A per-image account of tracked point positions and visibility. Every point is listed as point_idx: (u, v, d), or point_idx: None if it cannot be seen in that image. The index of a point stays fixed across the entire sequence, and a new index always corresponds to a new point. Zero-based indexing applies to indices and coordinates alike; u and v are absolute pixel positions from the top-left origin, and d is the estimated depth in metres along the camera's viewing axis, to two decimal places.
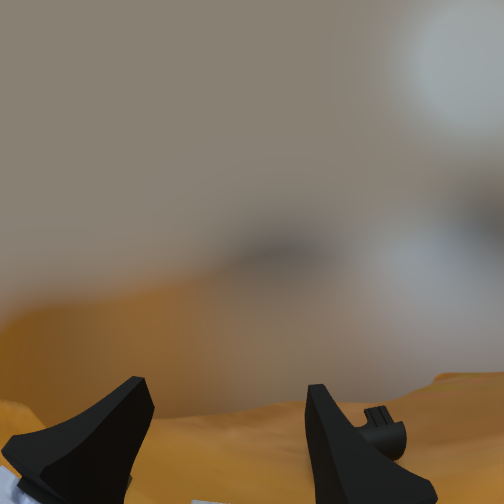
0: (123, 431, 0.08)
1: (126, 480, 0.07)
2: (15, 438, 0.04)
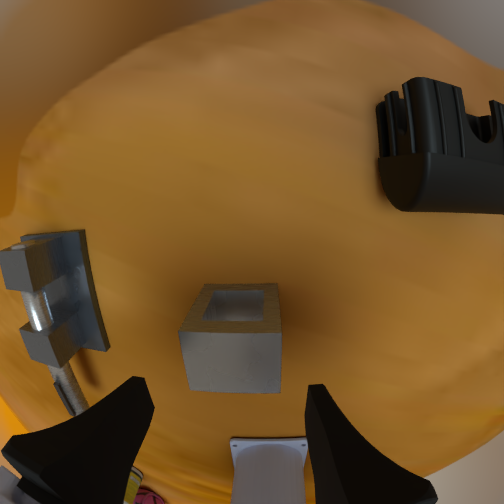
0: (123, 431, 0.08)
1: (126, 480, 0.07)
2: (15, 438, 0.04)
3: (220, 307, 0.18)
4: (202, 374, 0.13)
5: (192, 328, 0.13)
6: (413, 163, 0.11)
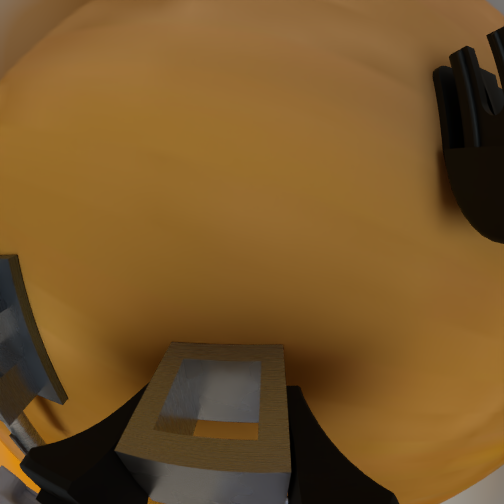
0: None
1: None
2: (35, 450, 0.04)
3: (194, 381, 0.11)
4: (165, 493, 0.06)
5: (137, 448, 0.06)
6: None
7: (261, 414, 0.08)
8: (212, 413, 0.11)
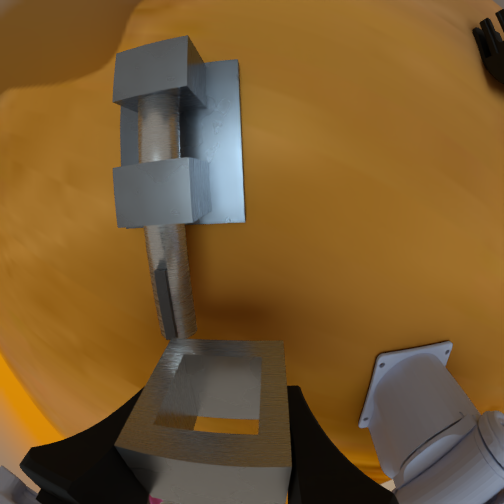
0: None
1: None
2: (35, 450, 0.04)
3: (194, 376, 0.11)
4: (164, 489, 0.06)
5: (136, 442, 0.06)
6: None
7: (261, 409, 0.08)
8: (212, 409, 0.11)
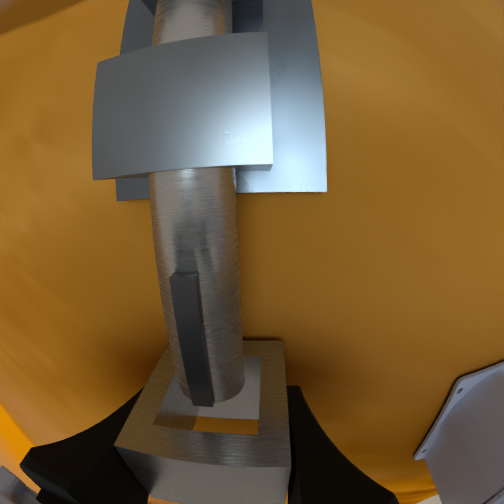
0: None
1: None
2: (35, 450, 0.04)
3: None
4: (164, 489, 0.06)
5: (136, 442, 0.06)
6: None
7: (261, 409, 0.08)
8: (212, 409, 0.11)
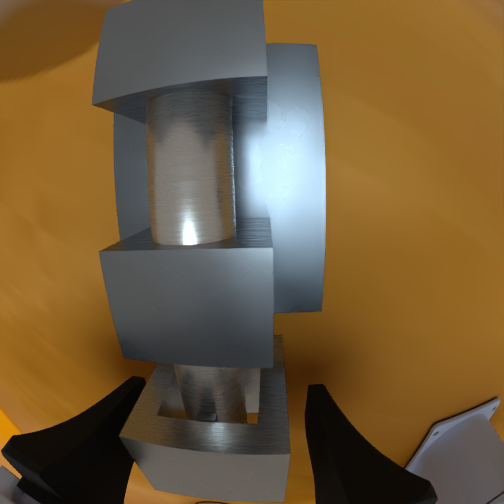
0: None
1: (126, 480, 0.07)
2: (15, 437, 0.04)
3: None
4: (167, 481, 0.07)
5: (140, 433, 0.06)
6: None
7: (261, 399, 0.08)
8: None
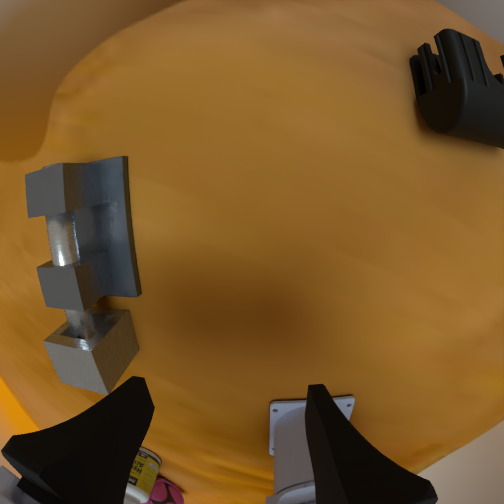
0: (123, 431, 0.08)
1: (126, 480, 0.07)
2: (15, 437, 0.04)
3: None
4: (63, 372, 0.16)
5: (50, 340, 0.15)
6: (452, 89, 0.10)
7: (97, 333, 0.17)
8: None
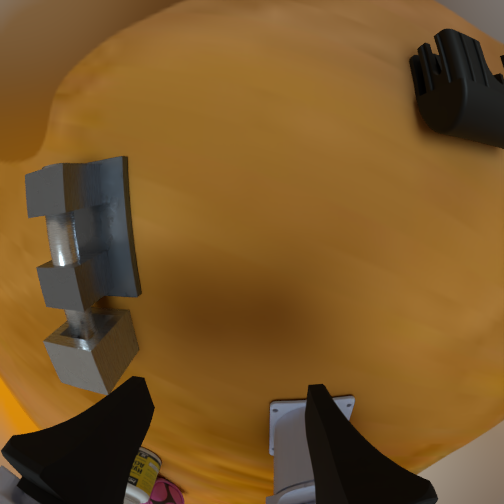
0: (123, 431, 0.08)
1: (126, 480, 0.07)
2: (15, 438, 0.04)
3: None
4: (62, 372, 0.16)
5: (50, 340, 0.15)
6: (452, 89, 0.10)
7: (97, 333, 0.17)
8: None
